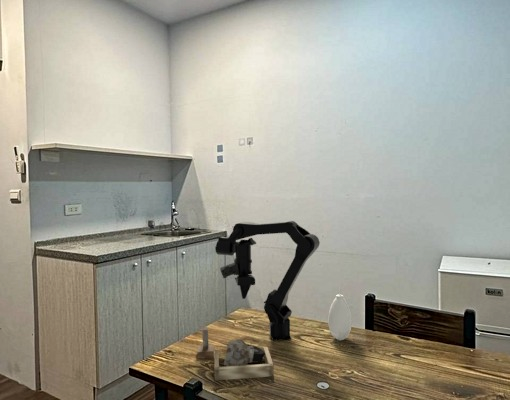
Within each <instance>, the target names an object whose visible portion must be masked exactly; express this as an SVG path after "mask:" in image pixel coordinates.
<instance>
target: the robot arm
mask: <svg viewBox="0 0 510 400" xmlns="http://www.w3.org/2000/svg"><path fill="white" fill-rule="evenodd" d="M273 234H274V235H275V234H287V235H288V236H289V238H290V239H291V240H292V242H294V244H295V245H296V248H295V250H294V251H295V253H294V257H293V259H292V261H291V263H290V265H289V266H288V269H287V270H286V272H285V274H284V276H283V278H282V280H281V281H280V284H279V286H278V288H277V289H273V290H272V291H270V292H269V293H268V294H267V296H266V297H267V298H266V300H265V301H263V303H264V306H263V309H264V313H265V314H266V315H267V319H268V321H269V325H268V326H269V336H270V338H271V339H272V341H285V340H286V341H289V340H292V337H291V322H290V321H291V320H290V317H291V316H292V312H293V311H292V309H290V307H289V306H288V305H287V302H288V300H289V293H290V292H291V290H292V288H293V286H294V284H295V282H296V281H297V279H298V277H299V276H300V273H301V271H302V270H303V268H304V266H305V264H306V262H307V261H308V260H309V258H311V256H313V254H314V253H315V252H316V251H317V250H318V248H319V246H320V243H321V242H320V240H319V237H318V236H317V235H315V234H312V233H310V232H309V231H308V230H306V229H305V228H303V227H302V226H300V225H299V224H298V223H297V222H296V221H294V220H288V221H283V222H281V221H279V222H269V223H258V222H257V223H256V222H252V221H251V222H250V221H243V222H242V221H241V222H239V223H235V224H234V225H233V227H232V231H231V233H230V235H228V237H226V236H218V238H217V239H218V240H217V242H216V244H215V247H214V249H215V252H216V255H219V256H234V254H235V258H234V259H233V262H231V263H229V264H227V265H224V266H222V267H220V268H219V269H220V270H219V271H220V274H221V275H222V279H226V278H228V277H230V276H232V275H233V276H236V277H234V280H235V283H236V285H237V286H239V289H240V293H241V297H242V300H245V299H246V298H247V295H248V293H249V290H250V288H251V286H255V285H256V279H255V276H253V270H252V263H253V262H252V261H253V260H252V246H253V245H256V244H257V241H255V240H254V239H253V238H252V237H253V236H257V235H273ZM245 238H248V239H245Z"/></svg>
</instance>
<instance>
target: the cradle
mask: <svg viewBox="0 0 510 400" xmlns="http://www.w3.org/2000/svg"><path fill="white" fill-rule="evenodd" d="M262 350H263V351H264V357H263V360H264V362H265V363H262V364H261V363H260V364H247V365H243V366H220V363H219V362H220V360H219V359H220V357H219V349H214V357H213V358H214V381H224V380H225V381H226V380H241V379H250V378H251V379H253V378H265V377H266V378H267V377H274V376H275V372H274V371H275V369H274V367H275V366H274V363H273V360H272V357H271V353H270V351H269V348H268V346H263V349H262Z"/></svg>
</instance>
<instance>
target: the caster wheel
mask: <svg viewBox="0 0 510 400" xmlns="http://www.w3.org/2000/svg"><path fill="white" fill-rule="evenodd" d="M263 360H264V351H263V349H262V348H261V347H258V346H255V345H250V344H247V343H246V342H245V341H244V340H242V339H236V340H234V341H233V342H232V341H229V342H228V343H227V348H226V352H225V357H224V361H223V365H224V366H225V367H228V366H243V365H248V363H251V364H252V363H260V362H263Z"/></svg>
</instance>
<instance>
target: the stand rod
mask: <svg viewBox="0 0 510 400" xmlns="http://www.w3.org/2000/svg"><path fill="white" fill-rule="evenodd" d="M201 334H202V344H198V345H197V354H196V355H197V357H196V358H197V359H209V358H210V359H211V358H214V350H215V349H214V346H215V345H214V344H215V343H213V344H209V328H206V327H205V328H203V329H202V333H201Z"/></svg>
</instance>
